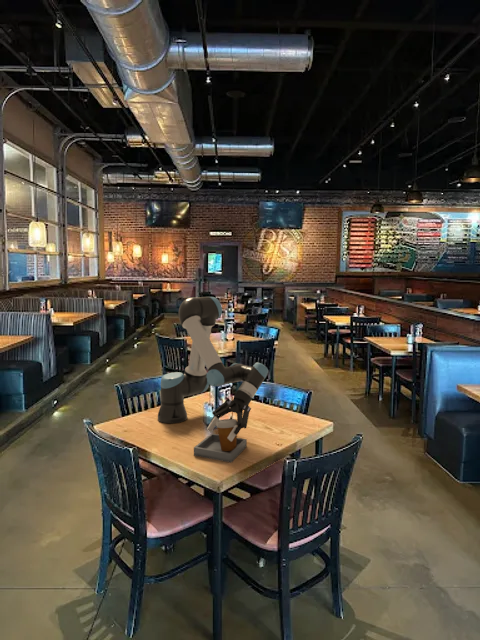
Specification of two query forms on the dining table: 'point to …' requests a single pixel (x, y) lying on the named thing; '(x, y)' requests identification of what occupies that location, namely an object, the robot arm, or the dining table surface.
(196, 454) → the tray
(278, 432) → the dining table surface
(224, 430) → the disposable coffee cup
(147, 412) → the dining table surface
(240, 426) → the robot arm
